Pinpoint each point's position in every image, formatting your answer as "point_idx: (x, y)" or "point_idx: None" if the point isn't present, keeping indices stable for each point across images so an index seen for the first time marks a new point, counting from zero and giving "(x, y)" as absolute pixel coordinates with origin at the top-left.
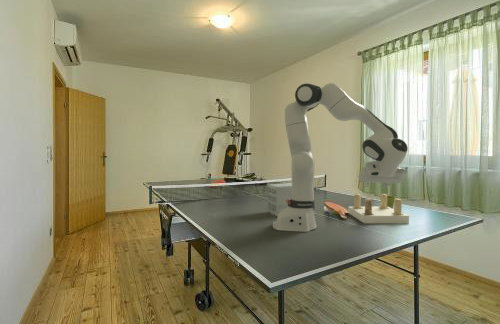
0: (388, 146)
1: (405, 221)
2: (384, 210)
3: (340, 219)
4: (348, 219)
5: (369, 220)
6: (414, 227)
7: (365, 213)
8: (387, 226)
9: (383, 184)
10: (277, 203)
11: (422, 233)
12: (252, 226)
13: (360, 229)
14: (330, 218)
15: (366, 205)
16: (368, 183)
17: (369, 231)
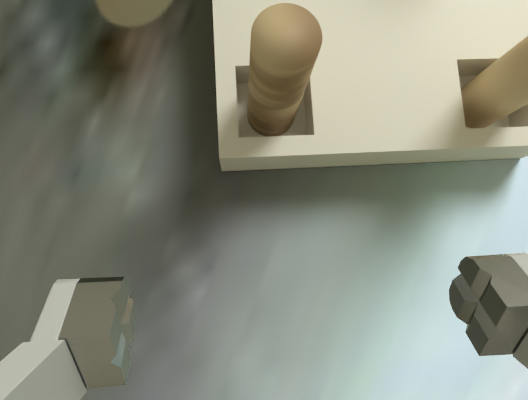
0: None
1: (506, 156)
2: None
3: (90, 73)
4: (148, 72)
5: (261, 164)
6: None
7: (249, 105)
8: (353, 241)
9: (473, 271)
10: None
11: (510, 393)
12: None
13: (143, 325)
14: (25, 48)
15: (256, 83)
16: (116, 348)
17: (187, 370)
